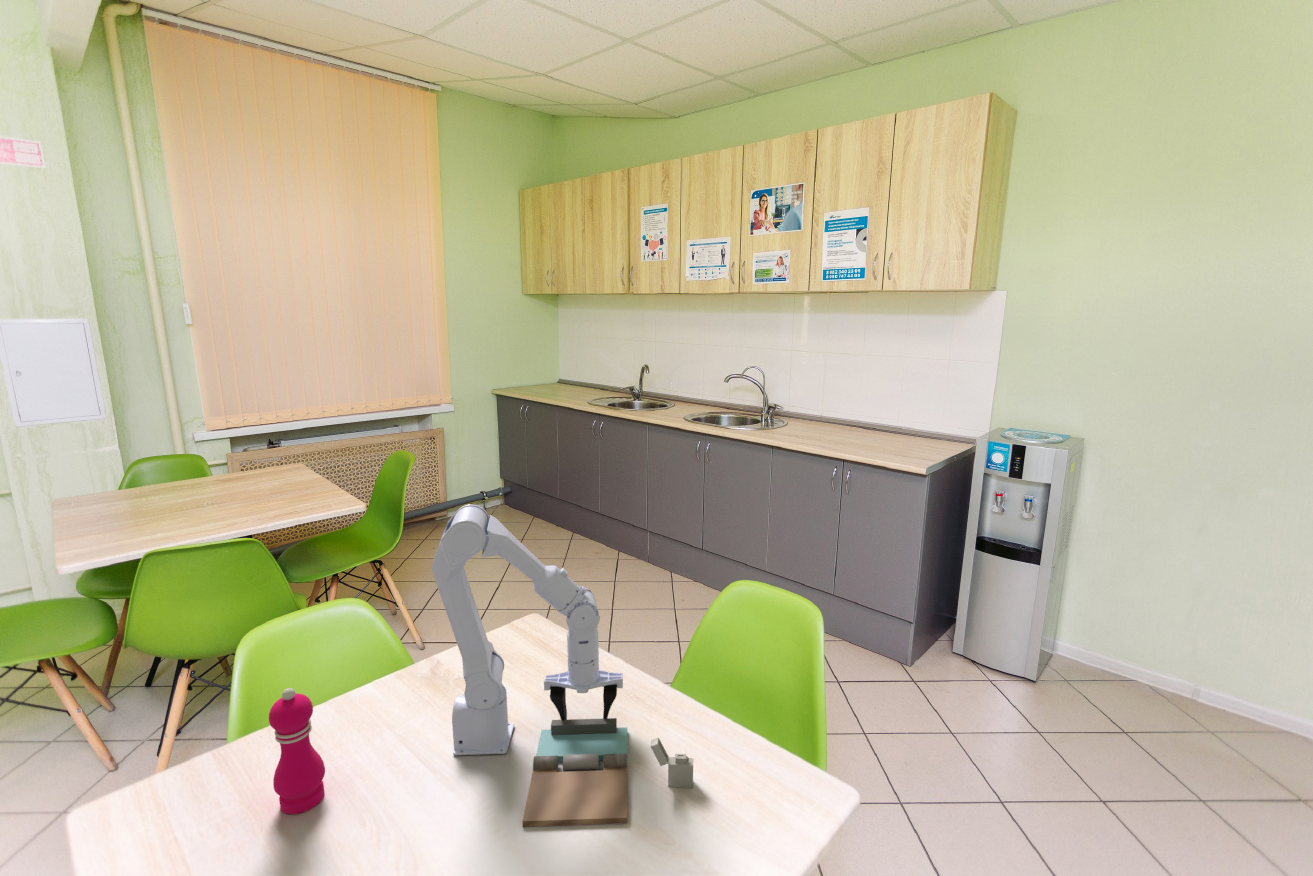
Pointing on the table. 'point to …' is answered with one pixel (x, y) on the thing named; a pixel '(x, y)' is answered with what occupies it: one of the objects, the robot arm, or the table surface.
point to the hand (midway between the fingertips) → (584, 721)
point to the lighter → (674, 766)
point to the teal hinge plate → (582, 742)
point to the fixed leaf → (577, 794)
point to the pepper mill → (296, 754)
